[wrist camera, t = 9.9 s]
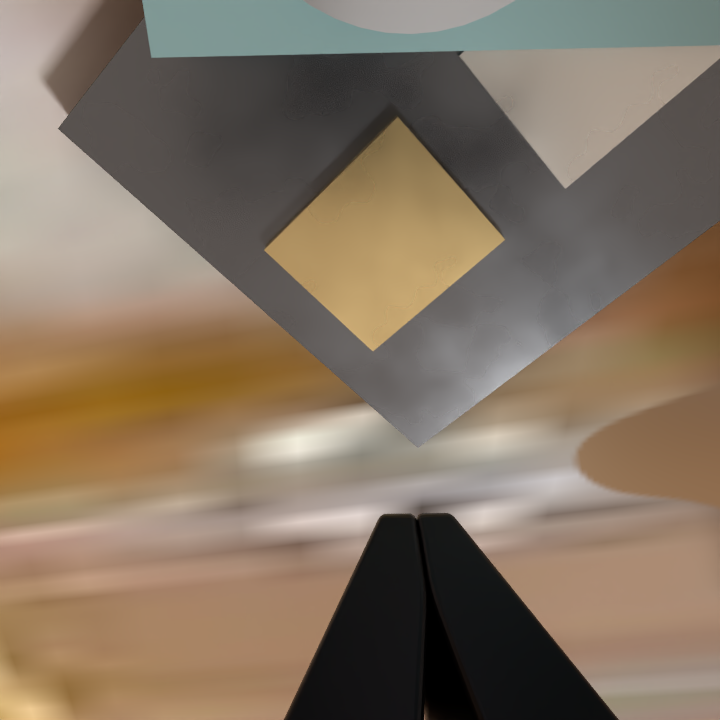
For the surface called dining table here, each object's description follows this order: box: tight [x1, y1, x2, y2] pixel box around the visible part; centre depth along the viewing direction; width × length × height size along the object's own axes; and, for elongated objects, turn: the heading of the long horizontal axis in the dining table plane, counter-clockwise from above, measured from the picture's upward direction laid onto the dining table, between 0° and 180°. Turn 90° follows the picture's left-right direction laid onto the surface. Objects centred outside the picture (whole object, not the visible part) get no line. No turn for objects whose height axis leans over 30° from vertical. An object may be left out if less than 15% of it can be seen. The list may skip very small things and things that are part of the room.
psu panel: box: [58, 17, 720, 447], centre depth 14 cm, size 14×22×5 cm, turn 134°
